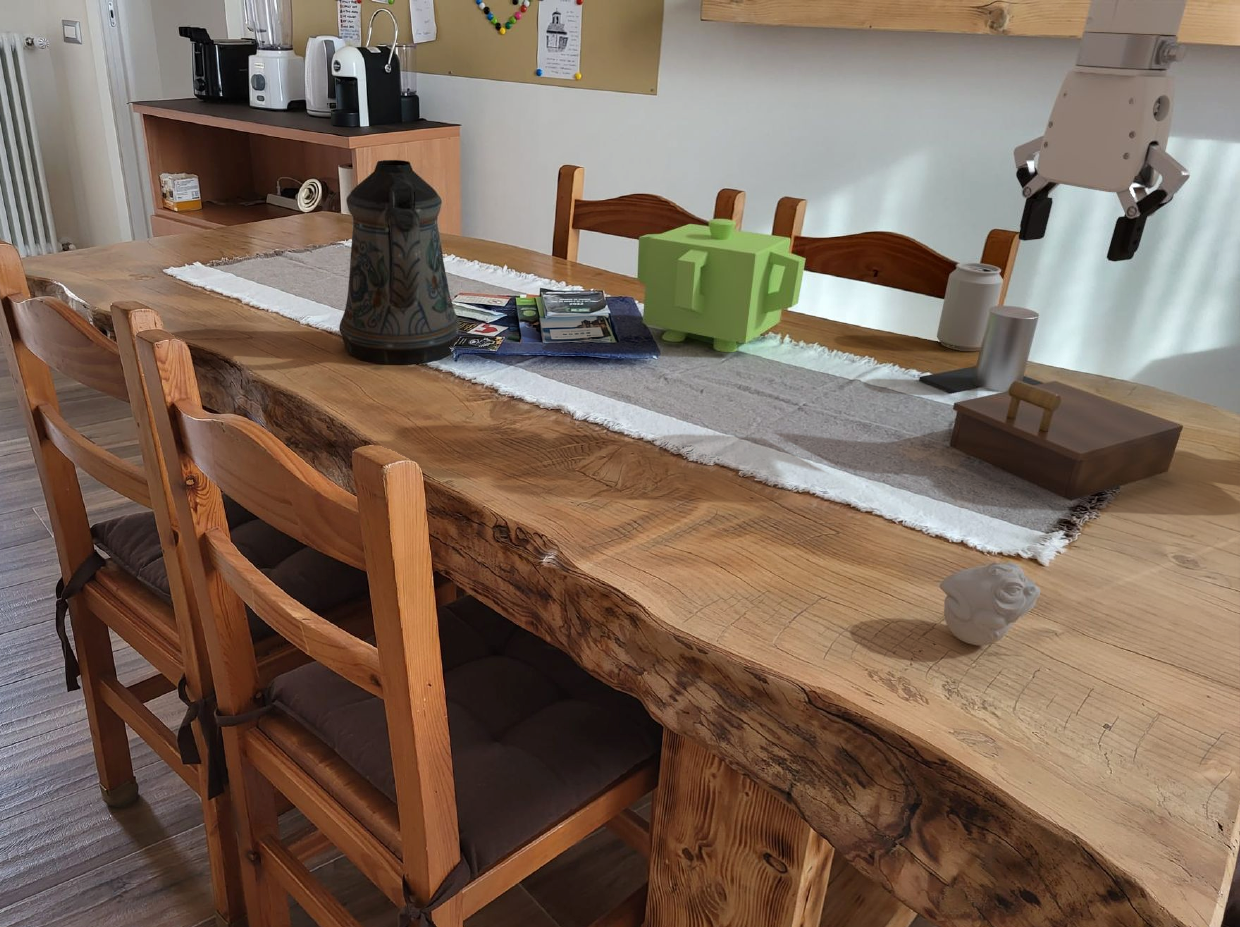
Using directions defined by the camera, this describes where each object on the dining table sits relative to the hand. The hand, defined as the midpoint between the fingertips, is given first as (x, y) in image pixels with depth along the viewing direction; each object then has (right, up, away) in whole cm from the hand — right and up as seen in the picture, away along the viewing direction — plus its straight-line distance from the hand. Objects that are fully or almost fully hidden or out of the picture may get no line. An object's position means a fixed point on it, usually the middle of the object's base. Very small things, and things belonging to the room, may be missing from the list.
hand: (1073, 249), depth 97 cm
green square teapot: (-27, 0, +54) cm, 60 cm away
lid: (+5, -16, +11) cm, 20 cm away
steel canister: (+8, -9, +36) cm, 38 cm away
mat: (+8, -9, +36) cm, 38 cm away
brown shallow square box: (+5, -20, +14) cm, 25 cm away
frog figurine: (-17, -36, -18) cm, 44 cm away
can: (+11, -1, +54) cm, 55 cm away
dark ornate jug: (-72, -3, +43) cm, 83 cm away
